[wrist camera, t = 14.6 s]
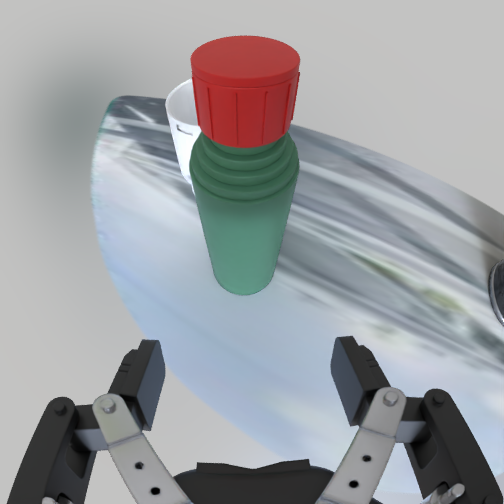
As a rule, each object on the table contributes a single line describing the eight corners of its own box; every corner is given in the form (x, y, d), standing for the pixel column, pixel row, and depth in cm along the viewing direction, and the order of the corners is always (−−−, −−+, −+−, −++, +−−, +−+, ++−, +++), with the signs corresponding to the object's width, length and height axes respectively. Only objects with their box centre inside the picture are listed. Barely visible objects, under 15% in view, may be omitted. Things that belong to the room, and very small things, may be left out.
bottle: (283, 251, 28) (332, 56, 10) (260, 305, 25) (294, 123, 8) (229, 230, 28) (215, 32, 11) (202, 280, 26) (140, 89, 8)
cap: (301, 107, 12) (311, 47, 9) (271, 160, 11) (279, 89, 8) (224, 87, 13) (222, 30, 10) (181, 134, 11) (168, 68, 8)
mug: (201, 130, 35) (193, 69, 26) (269, 146, 33) (275, 82, 25) (154, 202, 30) (128, 139, 21) (232, 226, 29) (228, 161, 20)
